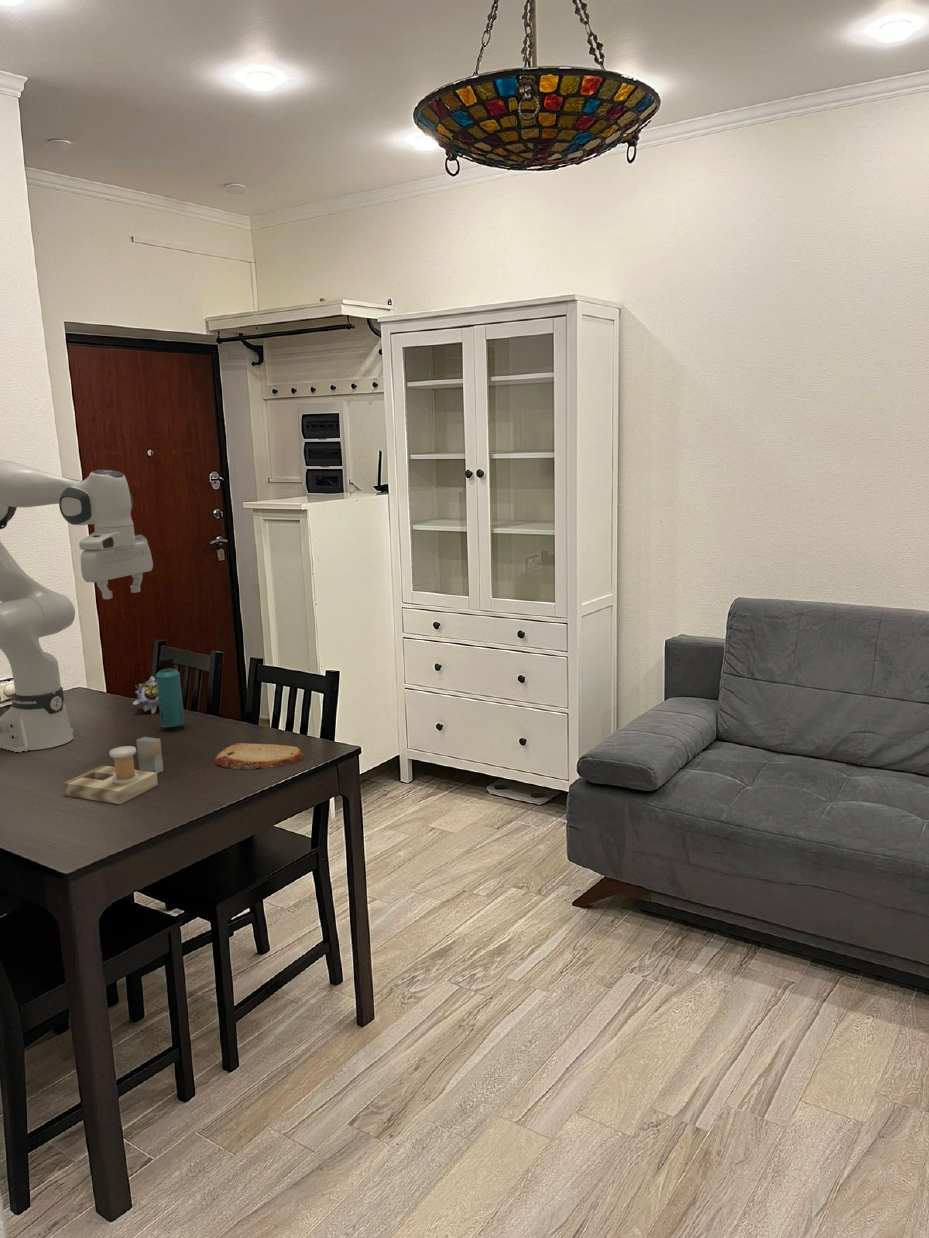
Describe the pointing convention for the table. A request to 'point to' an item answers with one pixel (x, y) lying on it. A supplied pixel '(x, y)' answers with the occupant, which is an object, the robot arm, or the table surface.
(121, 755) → the bobbin
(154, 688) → the passion flower
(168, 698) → the beverage bottle
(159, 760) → the metal tab
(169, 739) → the table surface
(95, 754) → the table surface
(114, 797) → the slot board
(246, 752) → the slice of bread
